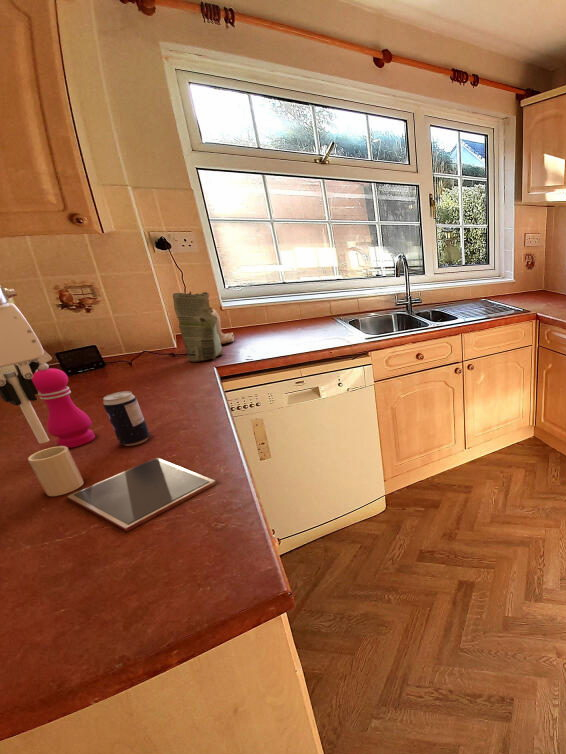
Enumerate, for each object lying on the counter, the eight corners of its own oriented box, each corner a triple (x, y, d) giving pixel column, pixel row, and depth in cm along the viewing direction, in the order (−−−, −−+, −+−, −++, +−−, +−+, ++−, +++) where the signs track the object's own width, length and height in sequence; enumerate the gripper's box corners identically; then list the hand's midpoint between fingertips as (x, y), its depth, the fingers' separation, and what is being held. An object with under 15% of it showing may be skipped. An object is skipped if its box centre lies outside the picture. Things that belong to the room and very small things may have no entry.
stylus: (40, 444, 79) (4, 374, 74) (37, 442, 79) (1, 373, 74) (51, 440, 80) (16, 371, 75) (47, 439, 81) (12, 370, 75)
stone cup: (197, 352, 166) (185, 314, 161) (192, 346, 175) (180, 310, 169) (240, 344, 176) (230, 308, 170) (233, 338, 184) (224, 304, 178)
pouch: (188, 357, 160) (166, 291, 150) (225, 351, 167) (206, 287, 157) (190, 365, 152) (167, 295, 142) (228, 358, 159) (209, 291, 149)
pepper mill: (52, 444, 100) (14, 364, 93) (93, 431, 106) (59, 355, 98) (60, 452, 96) (20, 370, 89) (101, 439, 102) (67, 361, 94)
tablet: (126, 532, 72) (124, 527, 71) (68, 499, 80) (66, 495, 80) (216, 483, 84) (215, 480, 84) (158, 460, 93) (156, 456, 92)
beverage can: (143, 433, 104) (126, 389, 100) (156, 438, 102) (138, 392, 97) (115, 444, 99) (95, 398, 95) (128, 449, 97) (108, 402, 92)
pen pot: (53, 499, 80) (35, 463, 77) (41, 492, 82) (22, 456, 79) (89, 483, 85) (72, 449, 82) (76, 477, 87) (60, 443, 84)
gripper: (27, 291, 78) (69, 383, 85) (-114, 308, 65) (-50, 415, 72) (45, 293, 74) (88, 389, 81) (-99, 312, 62) (-34, 424, 69)
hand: (23, 401), depth 77 cm, fingers closed on stylus, 1 cm apart
